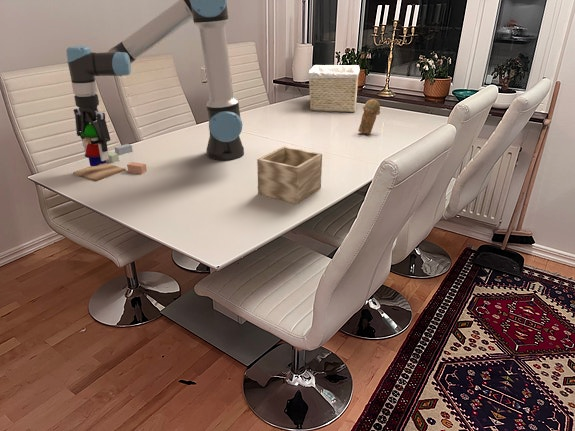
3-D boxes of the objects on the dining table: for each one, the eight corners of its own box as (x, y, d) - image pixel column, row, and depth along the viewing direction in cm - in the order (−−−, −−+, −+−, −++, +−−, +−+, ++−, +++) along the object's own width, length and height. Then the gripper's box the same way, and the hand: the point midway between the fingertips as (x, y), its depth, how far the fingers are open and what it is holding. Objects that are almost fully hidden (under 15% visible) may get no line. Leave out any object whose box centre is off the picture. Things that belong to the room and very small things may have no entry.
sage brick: (119, 161, 186) (118, 153, 185) (112, 163, 184) (111, 155, 183) (109, 158, 189) (108, 151, 188) (103, 160, 187) (101, 153, 186)
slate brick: (128, 150, 198) (127, 143, 197) (132, 152, 196) (131, 145, 195) (115, 154, 194) (114, 147, 193) (119, 155, 192) (118, 148, 191)
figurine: (357, 134, 220) (359, 101, 214) (361, 129, 227) (364, 98, 220) (375, 136, 217) (378, 103, 211) (379, 131, 224) (382, 99, 218)
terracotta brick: (146, 171, 176) (145, 163, 175) (142, 174, 174) (141, 166, 172) (133, 169, 178) (131, 162, 177) (128, 172, 176) (126, 164, 174)
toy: (109, 158, 179) (102, 119, 172) (115, 164, 172) (108, 124, 166) (84, 163, 174) (76, 122, 168) (89, 169, 168) (81, 128, 161)
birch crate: (320, 187, 163) (322, 153, 158) (296, 203, 151) (297, 168, 145) (283, 178, 170) (283, 146, 165) (258, 193, 158) (257, 159, 152)
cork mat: (125, 170, 177) (125, 168, 177) (96, 181, 167) (96, 179, 167) (102, 163, 183) (102, 162, 183) (73, 174, 173) (72, 172, 173)
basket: (306, 111, 259) (307, 70, 249) (311, 100, 283) (312, 62, 273) (356, 114, 255) (359, 72, 246) (357, 102, 279) (360, 64, 269)
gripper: (115, 95, 160) (124, 160, 170) (76, 88, 170) (87, 150, 180) (96, 99, 155) (107, 166, 165) (57, 92, 164) (69, 155, 174)
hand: (97, 157), depth 172 cm, fingers closed on toy, 8 cm apart
